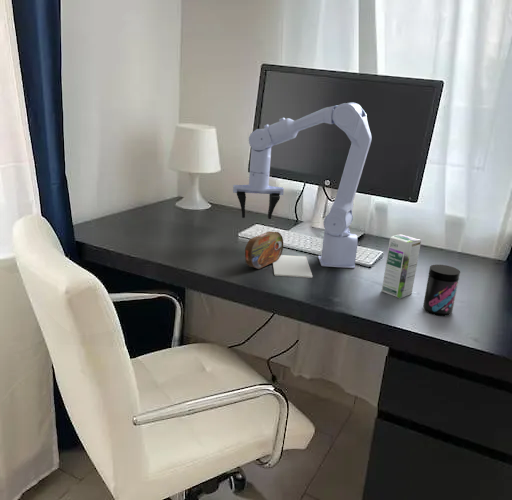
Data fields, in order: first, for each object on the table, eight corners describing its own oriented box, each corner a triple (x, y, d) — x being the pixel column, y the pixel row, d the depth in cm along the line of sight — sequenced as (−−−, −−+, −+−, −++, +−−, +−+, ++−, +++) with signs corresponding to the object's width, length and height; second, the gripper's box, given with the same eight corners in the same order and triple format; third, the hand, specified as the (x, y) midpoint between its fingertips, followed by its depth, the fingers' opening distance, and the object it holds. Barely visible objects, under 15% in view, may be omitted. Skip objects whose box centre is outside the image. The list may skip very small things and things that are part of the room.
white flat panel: (306, 257, 161) (306, 256, 160) (312, 277, 145) (312, 276, 145) (271, 255, 160) (271, 254, 160) (274, 275, 145) (274, 274, 145)
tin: (251, 272, 146) (252, 241, 143) (242, 269, 148) (242, 239, 145) (284, 257, 157) (284, 229, 155) (274, 255, 159) (275, 227, 156)
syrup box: (380, 291, 139) (388, 236, 135) (393, 286, 143) (401, 233, 139) (400, 299, 136) (409, 242, 131) (412, 293, 140) (422, 238, 135)
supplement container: (419, 312, 129) (427, 270, 125) (424, 302, 135) (432, 262, 131) (449, 319, 126) (458, 277, 123) (453, 309, 132) (462, 268, 129)
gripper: (282, 170, 163) (279, 215, 167) (233, 167, 162) (230, 213, 166) (286, 174, 157) (282, 221, 161) (234, 172, 155) (232, 219, 159)
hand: (256, 217), depth 163 cm, fingers open, 7 cm apart
